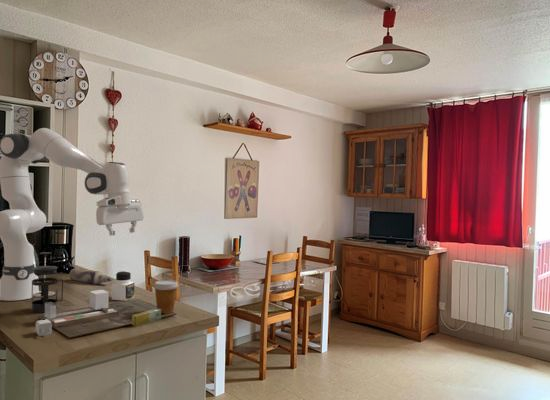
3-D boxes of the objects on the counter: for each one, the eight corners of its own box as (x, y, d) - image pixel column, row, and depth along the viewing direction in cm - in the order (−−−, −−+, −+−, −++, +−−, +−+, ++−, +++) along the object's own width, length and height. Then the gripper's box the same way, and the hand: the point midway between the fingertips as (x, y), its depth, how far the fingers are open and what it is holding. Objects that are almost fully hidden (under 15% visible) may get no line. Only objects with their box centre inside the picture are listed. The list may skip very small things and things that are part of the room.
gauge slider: (89, 306, 163) (89, 291, 163) (102, 304, 166) (102, 289, 166) (100, 312, 156) (100, 296, 155) (113, 310, 159) (113, 294, 159)
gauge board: (42, 319, 153) (43, 314, 153) (104, 308, 169) (104, 303, 169) (54, 327, 144) (54, 322, 144) (118, 315, 160) (118, 310, 160)
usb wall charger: (48, 330, 141) (49, 318, 141) (53, 336, 136) (53, 324, 136) (35, 332, 139) (35, 321, 139) (39, 338, 133) (40, 326, 133)
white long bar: (44, 316, 152) (44, 302, 152) (102, 306, 166) (102, 294, 166) (49, 320, 147) (50, 306, 147) (108, 309, 162) (108, 297, 162)
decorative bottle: (67, 281, 216) (68, 269, 216) (79, 279, 223) (80, 267, 223) (105, 287, 206) (105, 273, 206) (116, 284, 213) (116, 271, 213)
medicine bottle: (125, 301, 181) (126, 273, 181) (111, 299, 183) (111, 272, 183) (134, 297, 188) (135, 271, 188) (120, 296, 190) (120, 270, 190)
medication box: (157, 317, 159) (157, 307, 159) (162, 319, 158) (162, 308, 158) (131, 325, 149) (131, 314, 149) (136, 327, 148) (136, 316, 148)
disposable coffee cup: (164, 316, 161) (165, 285, 160) (148, 312, 166) (148, 282, 165) (182, 311, 169) (183, 281, 169) (165, 307, 174) (166, 278, 174)
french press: (29, 314, 158) (30, 254, 158) (27, 308, 166) (29, 251, 165) (63, 310, 164) (64, 253, 164) (60, 305, 172) (61, 250, 172)
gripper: (135, 199, 181) (138, 231, 181) (92, 202, 164) (95, 237, 165) (145, 198, 178) (148, 230, 178) (101, 201, 161) (105, 236, 161)
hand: (122, 233), depth 171 cm, fingers open, 8 cm apart
